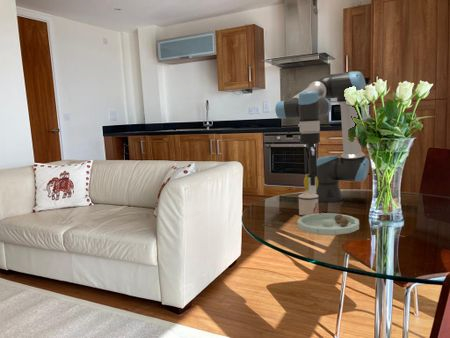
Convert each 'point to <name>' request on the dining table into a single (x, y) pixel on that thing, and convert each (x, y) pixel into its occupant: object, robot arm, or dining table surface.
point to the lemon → (306, 182)
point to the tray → (326, 224)
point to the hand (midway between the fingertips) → (311, 191)
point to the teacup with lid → (308, 204)
